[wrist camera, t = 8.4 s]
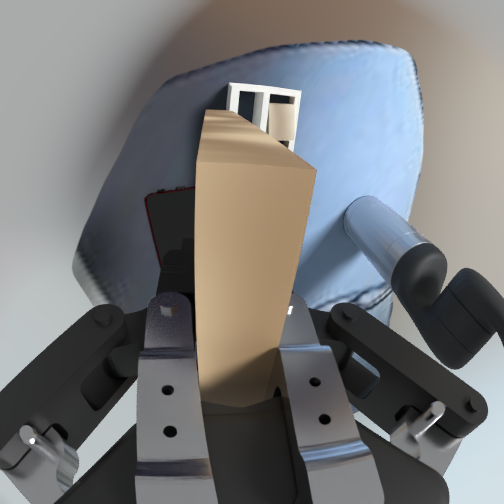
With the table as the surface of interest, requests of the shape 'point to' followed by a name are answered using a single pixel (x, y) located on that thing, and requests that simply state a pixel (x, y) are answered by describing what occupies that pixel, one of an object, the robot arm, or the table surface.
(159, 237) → the smartphone
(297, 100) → the rack
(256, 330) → the tan rectangular block
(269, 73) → the table surface
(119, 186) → the table surface
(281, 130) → the offcut maple
